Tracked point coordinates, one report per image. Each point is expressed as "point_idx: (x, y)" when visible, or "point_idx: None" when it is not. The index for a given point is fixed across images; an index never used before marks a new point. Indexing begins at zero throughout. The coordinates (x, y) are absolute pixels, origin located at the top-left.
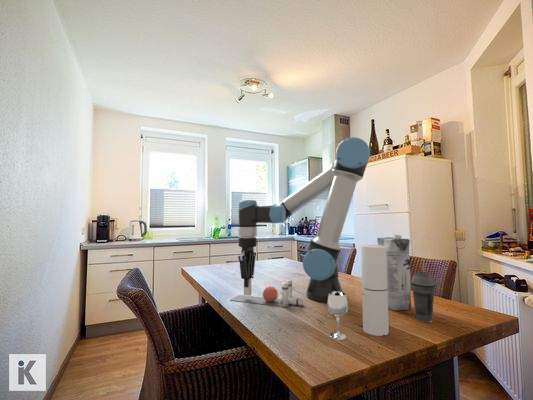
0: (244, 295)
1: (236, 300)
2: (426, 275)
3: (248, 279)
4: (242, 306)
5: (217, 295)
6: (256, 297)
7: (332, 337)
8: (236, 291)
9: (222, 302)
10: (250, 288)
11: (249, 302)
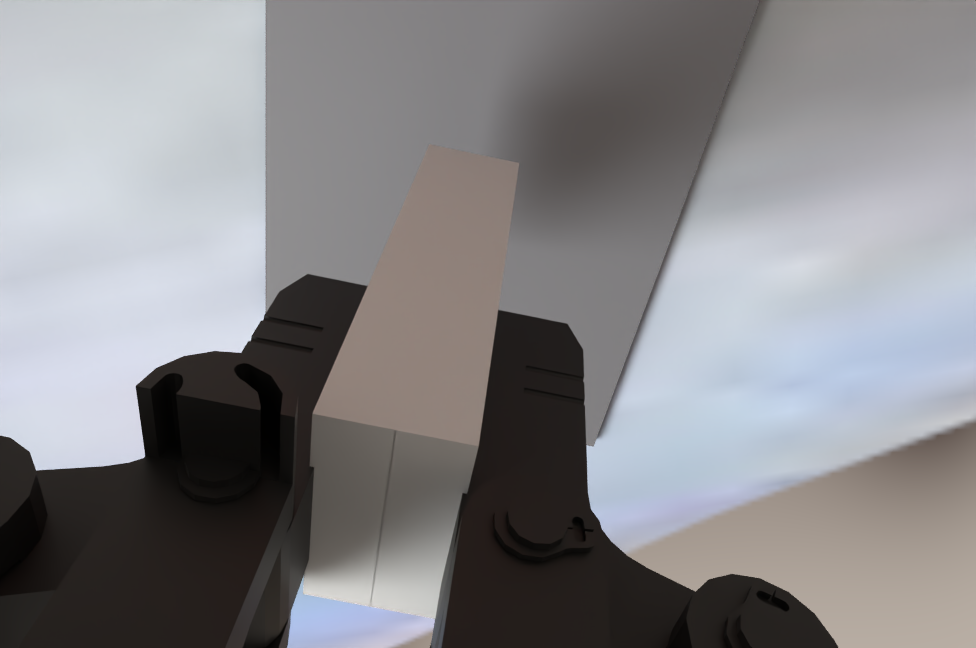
0: (268, 288)
1: (606, 355)
2: None
3: (465, 483)
4: (962, 181)
5: (373, 607)
6: (322, 5)
7: None
8: (74, 446)
9: (694, 508)
10: (462, 230)
11: (722, 91)
